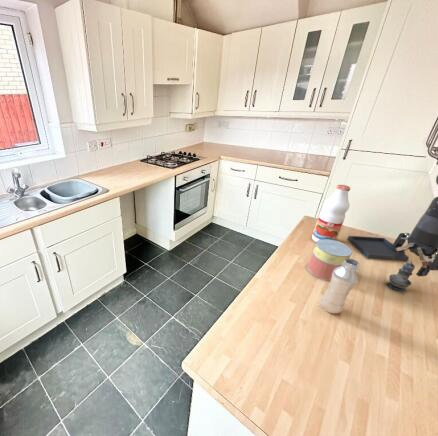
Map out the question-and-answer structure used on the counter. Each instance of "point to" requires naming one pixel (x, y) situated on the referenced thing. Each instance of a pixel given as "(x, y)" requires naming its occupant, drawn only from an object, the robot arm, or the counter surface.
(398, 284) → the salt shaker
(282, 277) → the counter surface
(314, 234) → the fruit juice
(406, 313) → the counter surface
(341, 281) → the plastic bottle
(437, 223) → the robot arm
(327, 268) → the canned food
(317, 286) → the counter surface
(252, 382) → the counter surface
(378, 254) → the tray
